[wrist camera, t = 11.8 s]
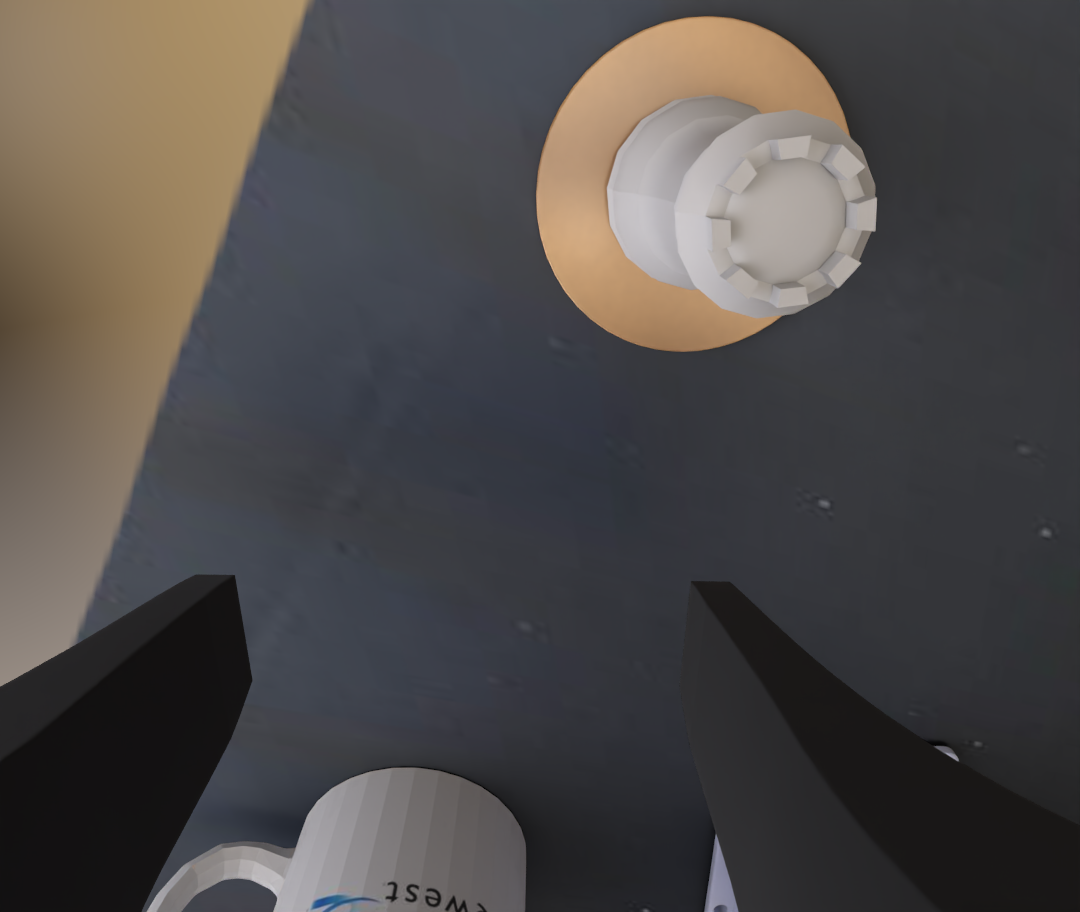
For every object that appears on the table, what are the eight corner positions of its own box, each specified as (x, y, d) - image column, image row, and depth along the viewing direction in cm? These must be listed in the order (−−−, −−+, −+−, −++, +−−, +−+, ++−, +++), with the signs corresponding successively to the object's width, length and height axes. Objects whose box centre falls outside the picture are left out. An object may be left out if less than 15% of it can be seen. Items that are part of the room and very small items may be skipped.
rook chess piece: (596, 277, 19) (630, 357, 12) (614, 88, 18) (668, 46, 10) (764, 289, 20) (899, 376, 12) (799, 103, 18) (982, 72, 10)
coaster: (820, 350, 21) (825, 354, 20) (534, 346, 21) (534, 350, 20) (875, 21, 17) (882, 18, 17) (538, 15, 17) (538, 12, 17)
